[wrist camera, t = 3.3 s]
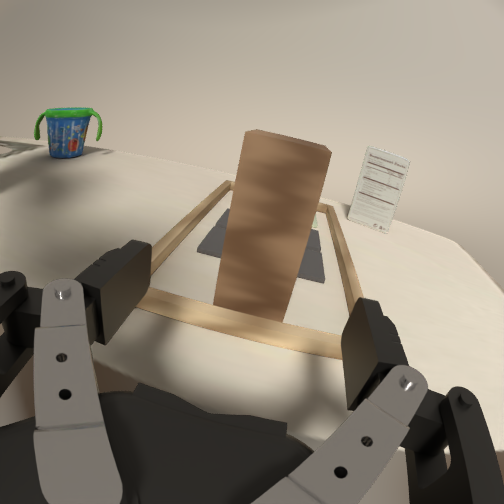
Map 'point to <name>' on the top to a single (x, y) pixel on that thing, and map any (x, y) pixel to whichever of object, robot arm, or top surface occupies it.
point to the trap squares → (310, 261)
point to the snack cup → (67, 130)
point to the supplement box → (378, 189)
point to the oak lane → (243, 322)
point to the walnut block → (269, 222)
